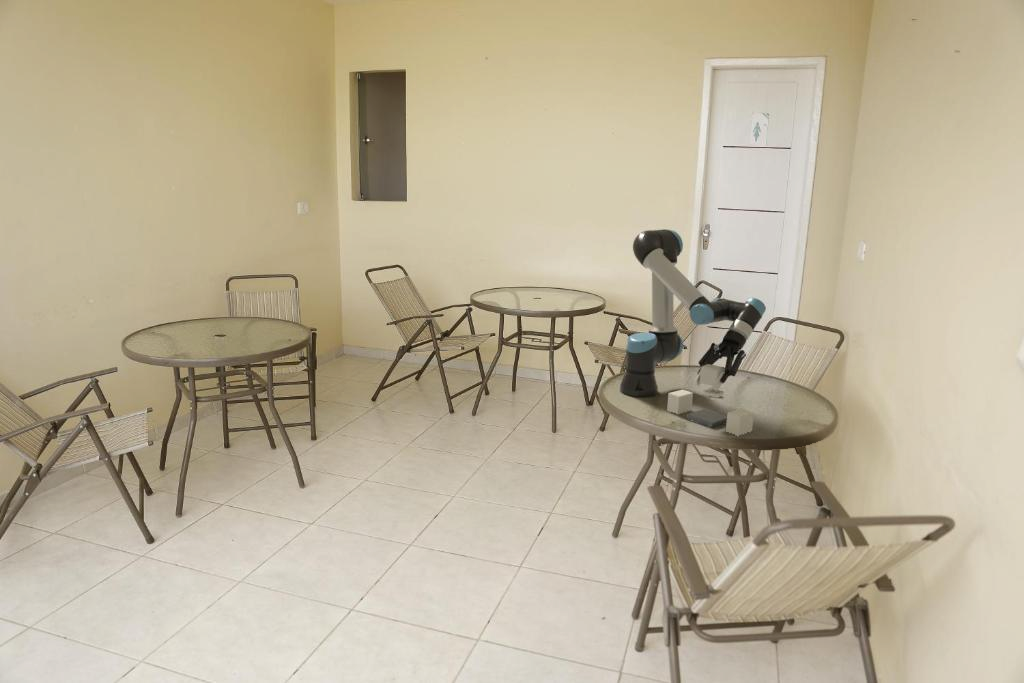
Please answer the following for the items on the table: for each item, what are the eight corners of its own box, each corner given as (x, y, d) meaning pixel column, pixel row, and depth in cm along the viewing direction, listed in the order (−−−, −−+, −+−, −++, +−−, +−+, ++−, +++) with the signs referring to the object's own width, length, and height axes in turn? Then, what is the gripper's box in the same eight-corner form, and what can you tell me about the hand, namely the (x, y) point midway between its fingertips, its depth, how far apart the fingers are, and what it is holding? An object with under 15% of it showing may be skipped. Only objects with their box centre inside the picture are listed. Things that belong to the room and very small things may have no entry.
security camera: (706, 390, 250) (708, 363, 248) (724, 394, 246) (726, 367, 243) (698, 394, 245) (700, 367, 243) (717, 398, 241) (719, 370, 238)
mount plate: (686, 419, 249) (687, 413, 249) (704, 413, 255) (704, 408, 255) (711, 428, 241) (712, 422, 241) (729, 422, 247) (729, 417, 246)
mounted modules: (667, 410, 258) (668, 393, 256) (680, 407, 262) (682, 389, 261) (738, 436, 234) (740, 416, 232) (751, 431, 239) (754, 412, 237)
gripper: (765, 347, 243) (733, 399, 237) (717, 336, 259) (686, 384, 253) (758, 334, 239) (725, 387, 233) (710, 324, 254) (678, 373, 248)
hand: (705, 385), depth 243 cm, fingers closed on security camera, 7 cm apart
